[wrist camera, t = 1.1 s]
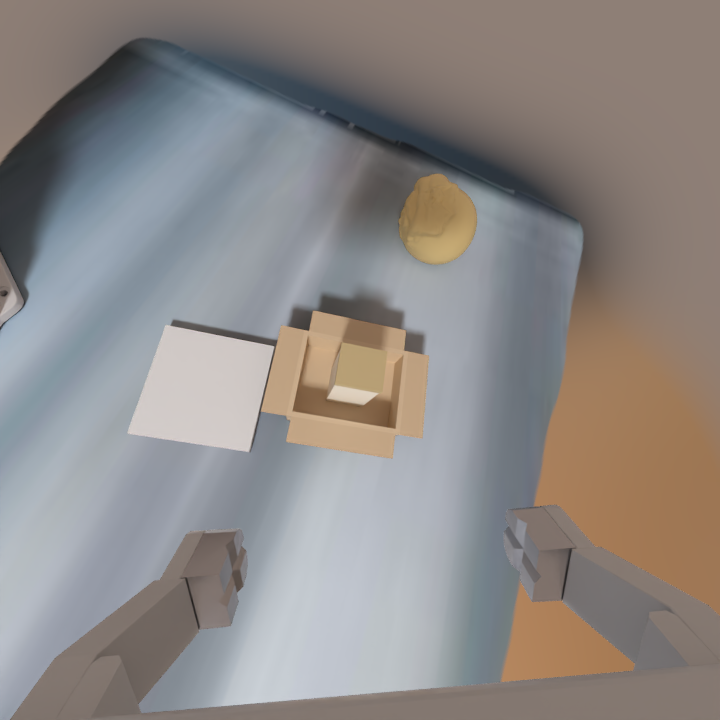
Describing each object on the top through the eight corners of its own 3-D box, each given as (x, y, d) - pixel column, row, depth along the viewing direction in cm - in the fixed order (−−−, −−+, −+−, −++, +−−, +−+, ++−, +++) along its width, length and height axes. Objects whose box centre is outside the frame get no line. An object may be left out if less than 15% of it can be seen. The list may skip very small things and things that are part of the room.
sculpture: (396, 207, 58) (418, 153, 48) (460, 225, 60) (494, 177, 49) (386, 262, 54) (408, 216, 44) (455, 280, 56) (491, 241, 46)
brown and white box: (362, 407, 46) (382, 392, 36) (324, 401, 45) (334, 383, 35) (366, 375, 48) (387, 351, 37) (330, 368, 47) (341, 342, 36)
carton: (408, 462, 46) (420, 462, 41) (258, 439, 43) (254, 436, 38) (419, 346, 51) (430, 335, 47) (286, 318, 48) (286, 304, 44)
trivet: (250, 452, 42) (249, 451, 41) (131, 434, 40) (127, 433, 39) (274, 349, 46) (274, 346, 45) (168, 328, 44) (165, 324, 43)
